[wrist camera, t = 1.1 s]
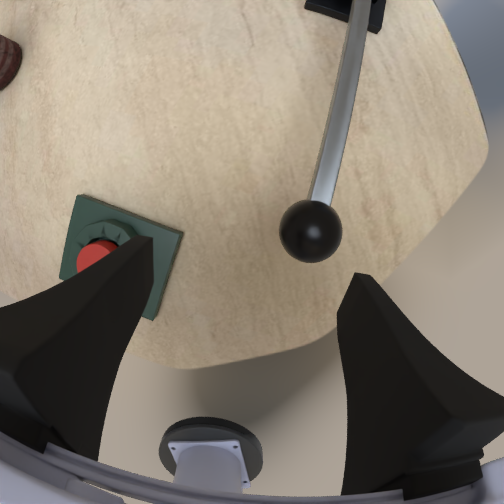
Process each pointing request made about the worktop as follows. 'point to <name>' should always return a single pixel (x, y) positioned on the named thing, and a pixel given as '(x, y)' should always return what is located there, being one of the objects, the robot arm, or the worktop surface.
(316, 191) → the grey lever handle
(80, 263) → the button
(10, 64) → the can
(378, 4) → the bracket
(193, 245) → the worktop surface
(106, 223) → the button box
